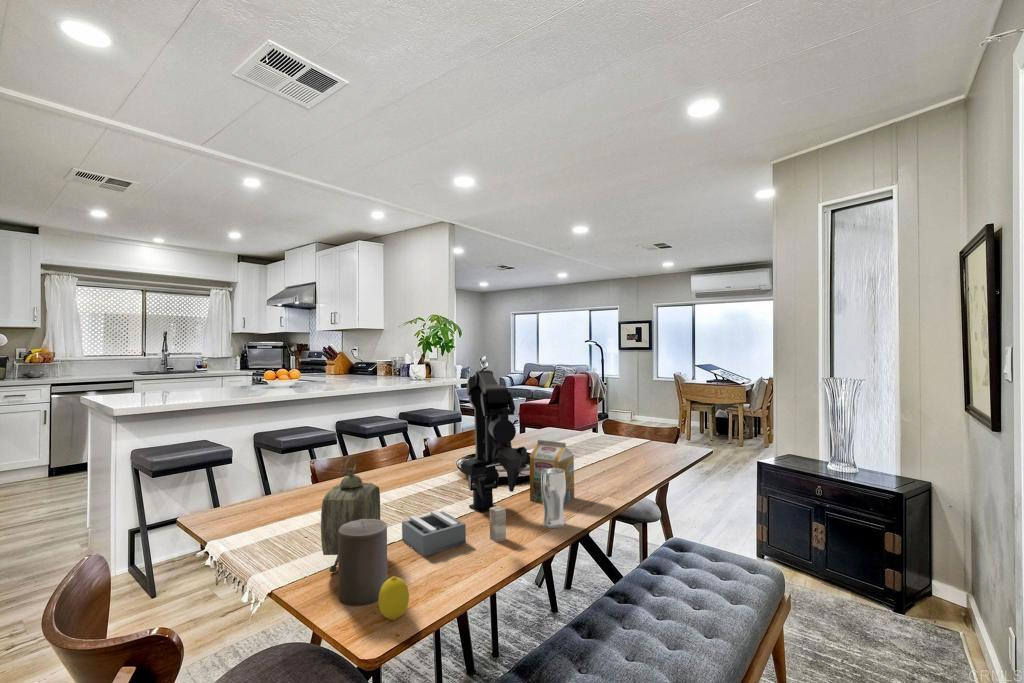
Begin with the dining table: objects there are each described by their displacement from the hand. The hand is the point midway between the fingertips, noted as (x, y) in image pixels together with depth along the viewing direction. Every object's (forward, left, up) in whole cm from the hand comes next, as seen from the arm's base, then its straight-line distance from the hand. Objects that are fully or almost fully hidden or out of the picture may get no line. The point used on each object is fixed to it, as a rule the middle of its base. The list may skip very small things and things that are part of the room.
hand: (497, 495), depth 123 cm
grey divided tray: (-9, -14, -11) cm, 20 cm away
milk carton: (-14, +32, -12) cm, 37 cm away
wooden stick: (0, 0, -11) cm, 11 cm away
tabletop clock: (-11, -34, -12) cm, 38 cm away
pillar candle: (+4, -37, -12) cm, 39 cm away
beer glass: (+2, +18, -12) cm, 21 cm away
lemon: (+17, -36, -12) cm, 42 cm away
